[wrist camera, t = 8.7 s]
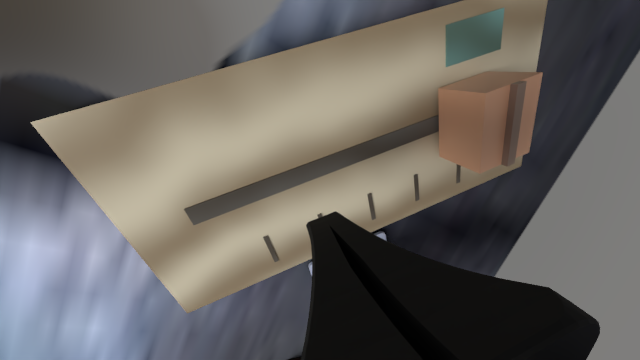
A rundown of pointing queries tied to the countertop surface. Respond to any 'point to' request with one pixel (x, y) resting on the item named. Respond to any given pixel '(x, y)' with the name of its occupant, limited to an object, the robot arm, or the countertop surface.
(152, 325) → the countertop surface
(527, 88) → the fader knob
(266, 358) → the countertop surface
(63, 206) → the countertop surface
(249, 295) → the countertop surface
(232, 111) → the fader console
